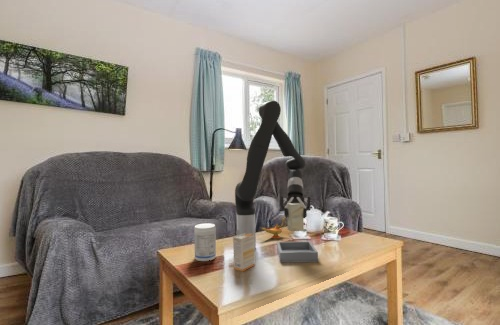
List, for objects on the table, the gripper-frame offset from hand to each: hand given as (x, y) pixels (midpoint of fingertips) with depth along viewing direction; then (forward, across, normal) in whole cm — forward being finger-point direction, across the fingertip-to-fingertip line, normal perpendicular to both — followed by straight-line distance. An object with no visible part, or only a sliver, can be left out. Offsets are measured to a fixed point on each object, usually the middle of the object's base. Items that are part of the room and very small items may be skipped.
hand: (295, 217), depth 121 cm
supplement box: (+23, -21, +2) cm, 31 cm away
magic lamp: (-8, -13, +34) cm, 37 cm away
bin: (+12, 0, +14) cm, 18 cm away
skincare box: (+4, 0, +6) cm, 7 cm away
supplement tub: (+18, -40, +8) cm, 45 cm away
